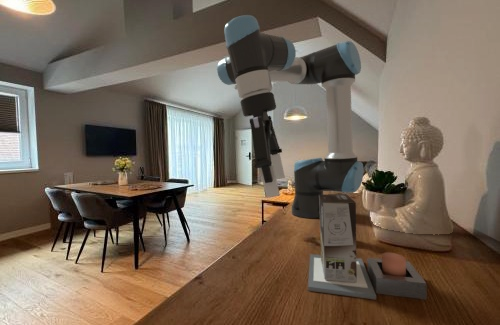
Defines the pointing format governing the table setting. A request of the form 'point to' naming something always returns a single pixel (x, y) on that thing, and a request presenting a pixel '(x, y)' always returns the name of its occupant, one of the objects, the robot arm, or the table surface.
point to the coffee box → (338, 237)
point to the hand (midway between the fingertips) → (276, 186)
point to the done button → (393, 264)
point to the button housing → (397, 281)
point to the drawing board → (357, 289)
